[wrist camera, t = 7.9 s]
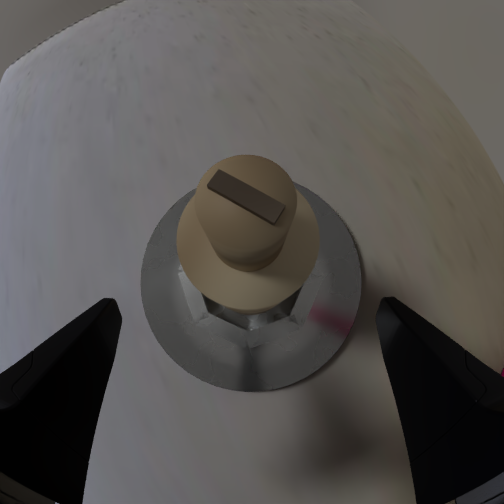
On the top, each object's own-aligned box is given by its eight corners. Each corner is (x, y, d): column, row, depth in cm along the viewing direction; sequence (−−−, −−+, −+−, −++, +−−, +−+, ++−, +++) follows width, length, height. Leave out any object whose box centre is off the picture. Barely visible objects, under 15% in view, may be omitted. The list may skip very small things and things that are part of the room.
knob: (300, 265, 19) (377, 170, 7) (262, 329, 18) (282, 346, 6) (238, 229, 20) (218, 92, 7) (199, 289, 19) (107, 230, 6)
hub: (386, 337, 19) (398, 338, 17) (186, 414, 17) (179, 423, 15) (307, 155, 22) (311, 141, 20) (124, 219, 21) (113, 210, 19)
